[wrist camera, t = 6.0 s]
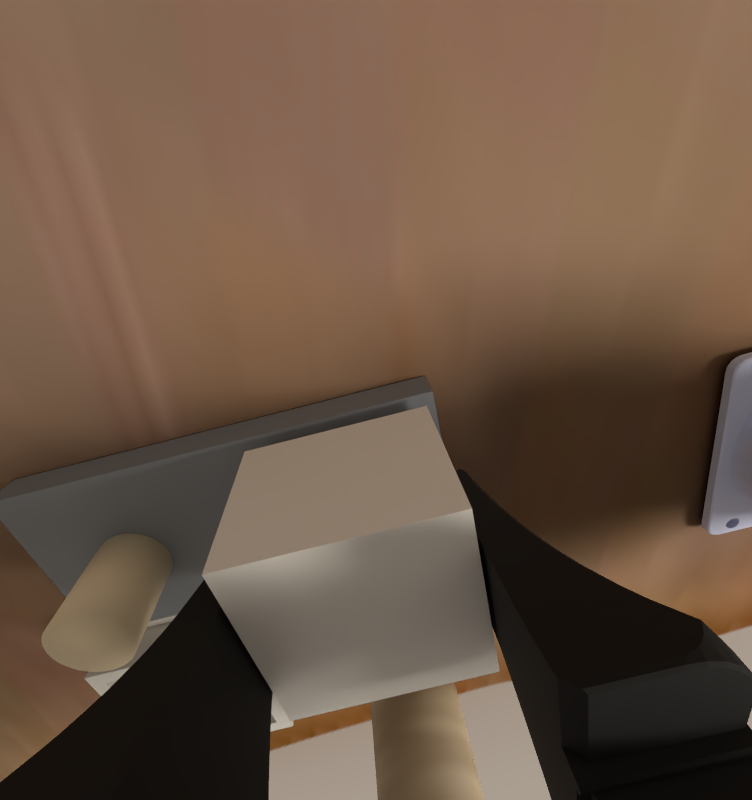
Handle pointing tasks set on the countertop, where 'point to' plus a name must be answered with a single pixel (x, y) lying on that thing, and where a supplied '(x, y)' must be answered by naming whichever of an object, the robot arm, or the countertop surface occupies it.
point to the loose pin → (423, 747)
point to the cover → (353, 566)
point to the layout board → (154, 527)
